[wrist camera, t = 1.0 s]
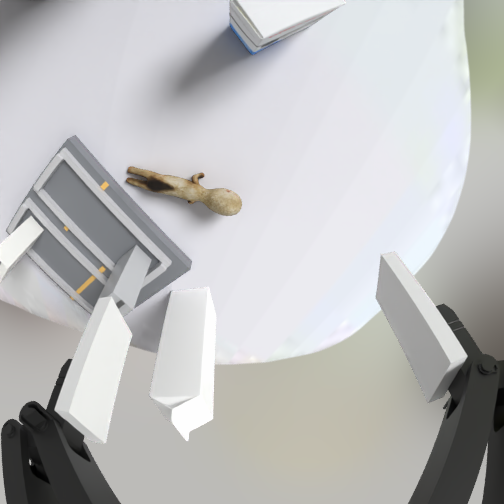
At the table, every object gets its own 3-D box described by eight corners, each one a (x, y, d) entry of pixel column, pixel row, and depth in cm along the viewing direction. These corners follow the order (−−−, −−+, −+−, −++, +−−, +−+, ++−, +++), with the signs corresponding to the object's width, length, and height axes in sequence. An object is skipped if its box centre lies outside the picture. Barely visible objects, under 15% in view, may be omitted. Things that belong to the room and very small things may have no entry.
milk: (208, 285, 45) (200, 419, 26) (216, 315, 48) (214, 442, 29) (170, 290, 45) (144, 420, 26) (180, 319, 48) (164, 442, 29)
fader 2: (118, 260, 39) (93, 309, 30) (136, 244, 38) (112, 293, 29) (133, 274, 40) (112, 325, 31) (151, 259, 39) (132, 311, 30)
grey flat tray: (12, 224, 37) (1, 235, 34) (75, 135, 31) (62, 140, 28) (110, 320, 47) (104, 333, 45) (191, 261, 42) (189, 275, 39)
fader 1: (20, 231, 35) (-16, 269, 26) (31, 215, 34) (-9, 253, 25) (33, 245, 36) (-2, 285, 28) (44, 229, 35) (7, 270, 27)
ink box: (251, 57, 29) (260, 42, 19) (228, 24, 26) (225, -4, 16) (314, 25, 27) (350, 2, 17) (291, -7, 24) (317, -42, 14)
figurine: (135, 182, 38) (241, 213, 37) (118, 192, 34) (234, 226, 33) (139, 156, 36) (249, 185, 36) (121, 163, 32) (242, 196, 32)
